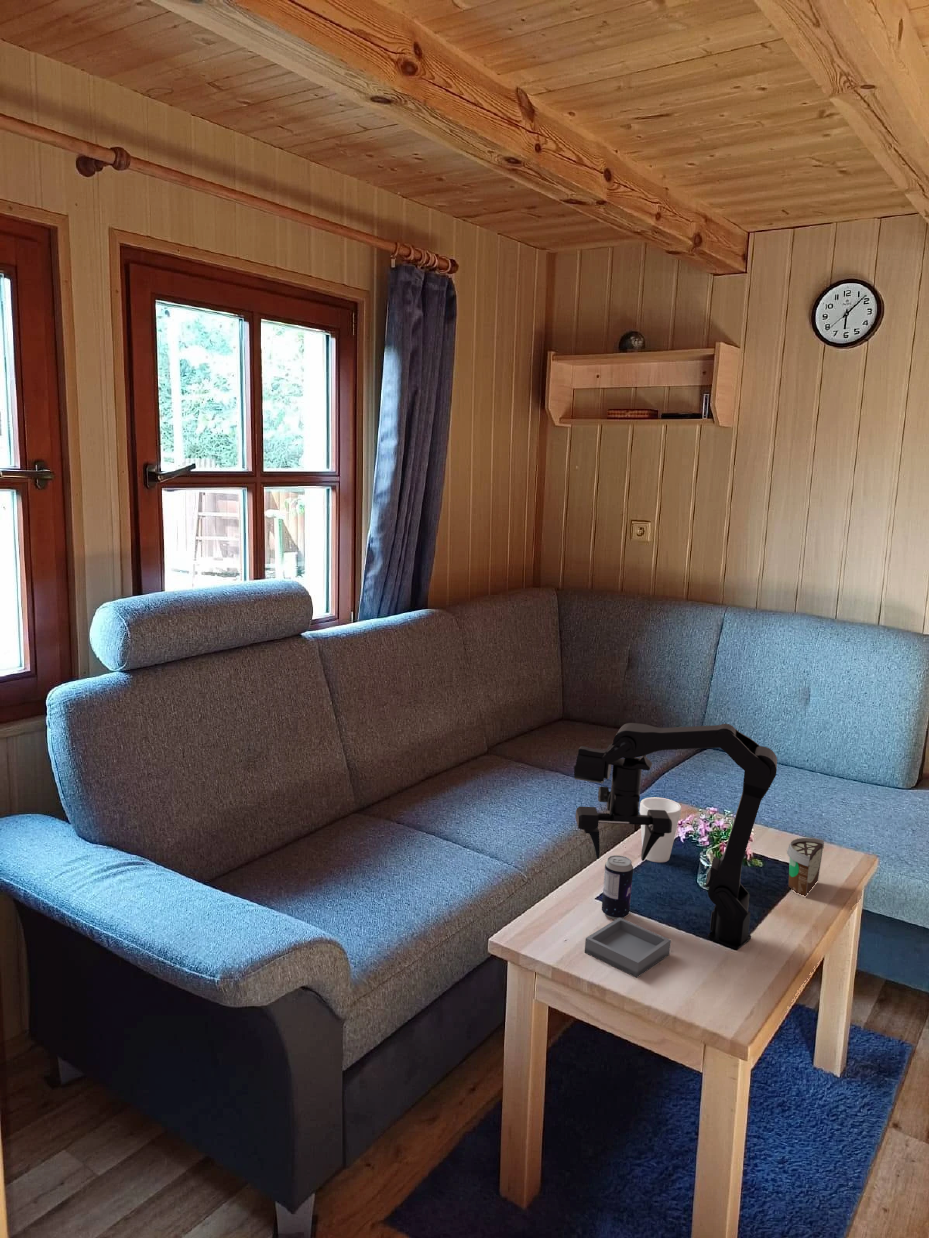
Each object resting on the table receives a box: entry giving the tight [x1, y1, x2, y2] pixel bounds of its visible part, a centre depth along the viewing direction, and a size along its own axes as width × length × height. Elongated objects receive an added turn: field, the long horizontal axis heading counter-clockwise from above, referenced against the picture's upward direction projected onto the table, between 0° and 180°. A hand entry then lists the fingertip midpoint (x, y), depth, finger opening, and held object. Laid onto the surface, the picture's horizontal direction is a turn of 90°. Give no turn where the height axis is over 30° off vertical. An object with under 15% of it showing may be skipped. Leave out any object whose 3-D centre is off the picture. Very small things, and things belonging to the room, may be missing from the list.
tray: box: [584, 917, 672, 979], centre depth 176 cm, size 12×12×3 cm
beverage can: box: [601, 854, 634, 920], centre depth 190 cm, size 6×6×12 cm
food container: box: [786, 837, 825, 896], centre depth 207 cm, size 12×6×10 cm, turn 144°
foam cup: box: [639, 796, 682, 863], centre depth 218 cm, size 10×9×13 cm
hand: (620, 858), depth 189 cm, fingers open, 9 cm apart
